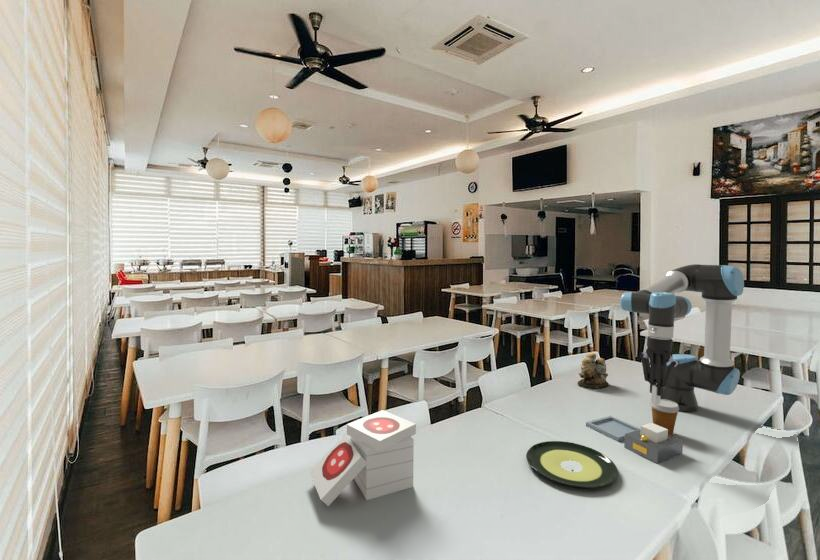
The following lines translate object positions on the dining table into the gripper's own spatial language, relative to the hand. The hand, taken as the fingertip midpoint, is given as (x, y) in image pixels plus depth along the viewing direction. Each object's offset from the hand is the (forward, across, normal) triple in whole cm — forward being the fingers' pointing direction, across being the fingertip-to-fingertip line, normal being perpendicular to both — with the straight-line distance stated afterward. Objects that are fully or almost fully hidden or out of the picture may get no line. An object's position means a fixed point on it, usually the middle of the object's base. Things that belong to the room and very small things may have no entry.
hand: (655, 403), depth 142 cm
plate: (+18, -5, -35) cm, 40 cm away
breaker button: (+14, 0, 0) cm, 14 cm away
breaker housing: (+17, 0, 0) cm, 17 cm away
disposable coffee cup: (+18, -7, +17) cm, 26 cm away
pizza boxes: (+18, -25, -99) cm, 103 cm away
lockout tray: (+17, -17, +2) cm, 24 cm away
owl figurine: (+17, -56, +37) cm, 70 cm away
